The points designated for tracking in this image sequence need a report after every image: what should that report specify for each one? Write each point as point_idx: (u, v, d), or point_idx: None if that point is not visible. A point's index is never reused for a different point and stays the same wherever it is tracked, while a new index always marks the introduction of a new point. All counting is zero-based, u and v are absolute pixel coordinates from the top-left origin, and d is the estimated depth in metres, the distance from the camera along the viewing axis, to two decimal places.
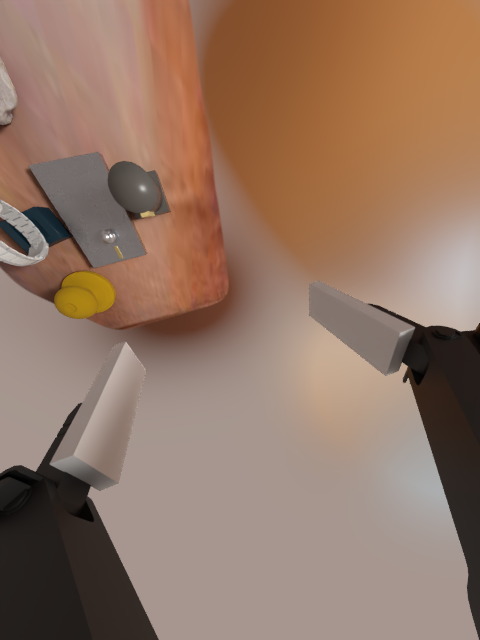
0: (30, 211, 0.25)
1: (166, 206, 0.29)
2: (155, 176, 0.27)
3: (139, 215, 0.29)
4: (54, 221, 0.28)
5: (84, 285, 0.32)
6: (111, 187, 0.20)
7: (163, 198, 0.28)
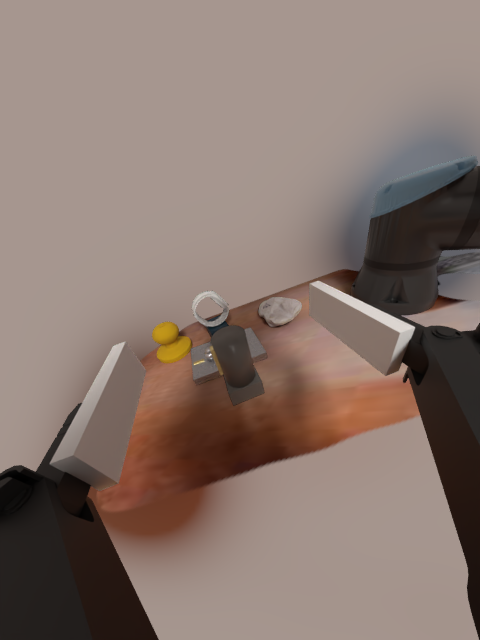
0: (225, 323, 0.42)
1: (232, 391, 0.27)
2: (256, 381, 0.27)
3: None
4: None
5: (179, 343, 0.41)
6: (227, 327, 0.26)
7: (239, 388, 0.27)
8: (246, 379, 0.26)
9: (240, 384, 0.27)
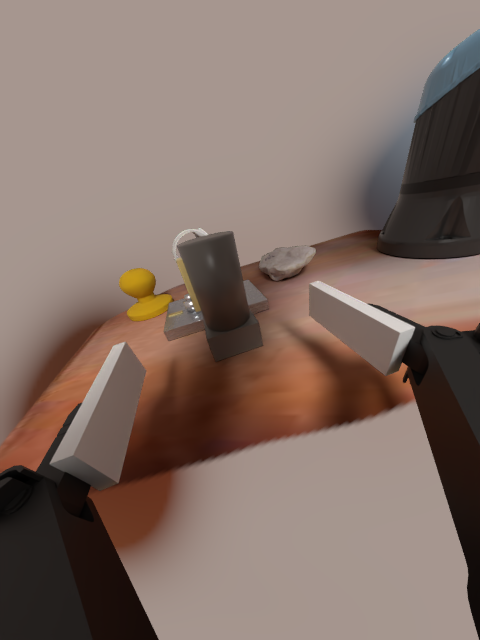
0: None
1: (213, 336, 0.17)
2: (251, 323, 0.18)
3: None
4: None
5: (156, 299, 0.32)
6: (207, 235, 0.17)
7: (224, 332, 0.17)
8: (234, 316, 0.17)
9: (225, 324, 0.17)
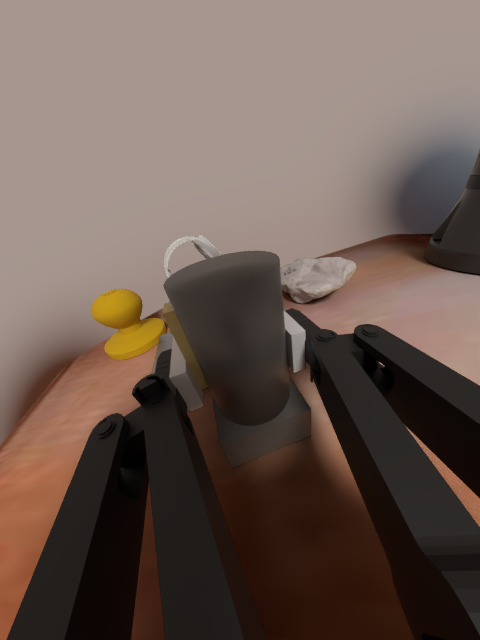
0: None
1: (231, 436, 0.10)
2: (297, 410, 0.10)
3: None
4: None
5: (144, 328, 0.25)
6: (222, 256, 0.09)
7: (250, 428, 0.10)
8: (271, 405, 0.09)
9: (253, 418, 0.09)
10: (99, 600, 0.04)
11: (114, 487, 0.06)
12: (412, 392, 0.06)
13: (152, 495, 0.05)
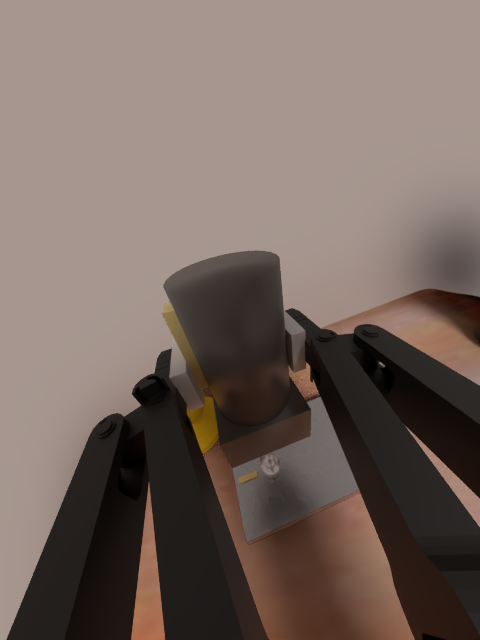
0: None
1: (232, 436, 0.10)
2: (297, 410, 0.10)
3: None
4: None
5: (205, 418, 0.25)
6: (222, 256, 0.09)
7: (251, 428, 0.10)
8: (271, 405, 0.09)
9: (253, 418, 0.09)
10: (99, 600, 0.04)
11: (114, 487, 0.06)
12: (412, 392, 0.06)
13: (152, 495, 0.05)
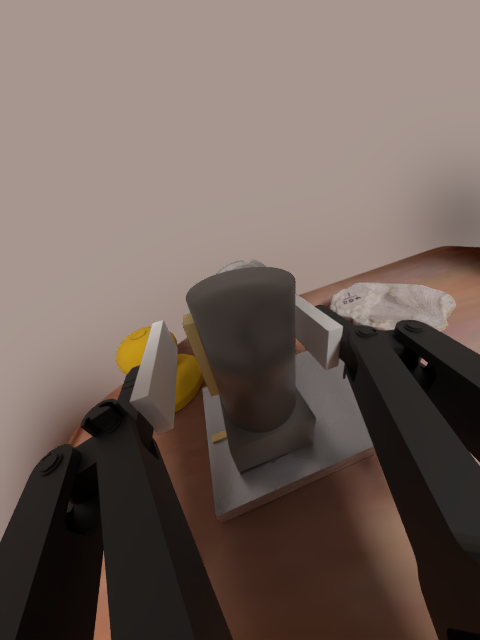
0: None
1: (240, 442, 0.10)
2: (303, 418, 0.11)
3: None
4: None
5: (178, 373, 0.20)
6: (237, 270, 0.10)
7: (259, 435, 0.10)
8: (279, 413, 0.10)
9: (262, 425, 0.10)
10: None
11: (61, 527, 0.05)
12: (456, 390, 0.06)
13: (105, 540, 0.04)
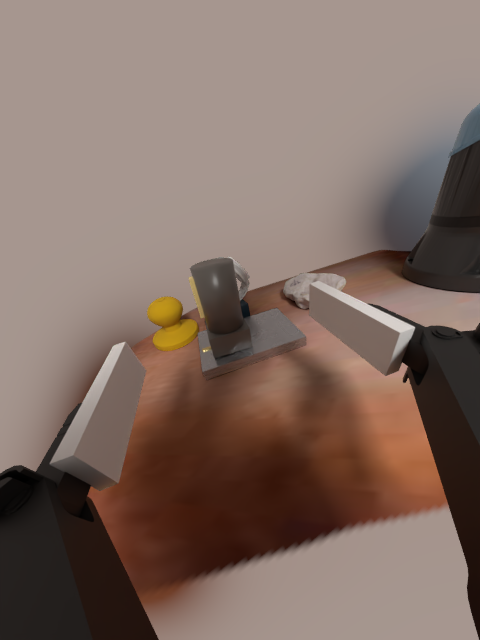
0: (244, 302, 0.32)
1: (214, 337, 0.22)
2: (244, 329, 0.23)
3: None
4: None
5: (183, 326, 0.32)
6: (213, 259, 0.22)
7: (222, 335, 0.22)
8: (231, 323, 0.22)
9: (223, 329, 0.22)
10: None
11: None
12: None
13: None
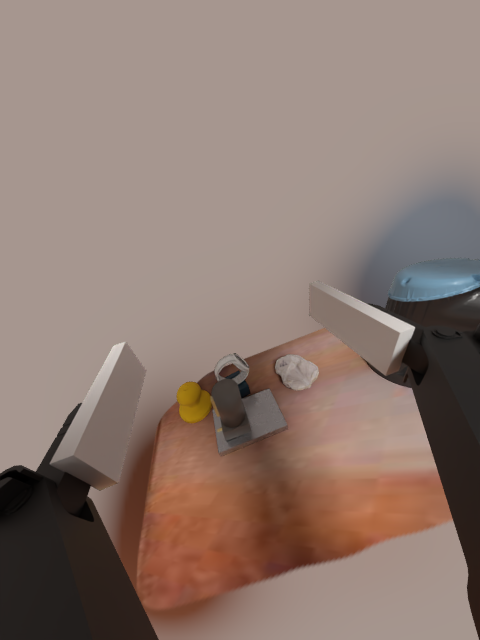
0: (245, 383, 0.44)
1: (226, 430, 0.34)
2: (245, 423, 0.34)
3: None
4: (242, 393, 0.43)
5: (201, 402, 0.43)
6: (225, 380, 0.34)
7: (231, 428, 0.34)
8: (237, 422, 0.34)
9: (232, 425, 0.34)
10: None
11: None
12: None
13: None
